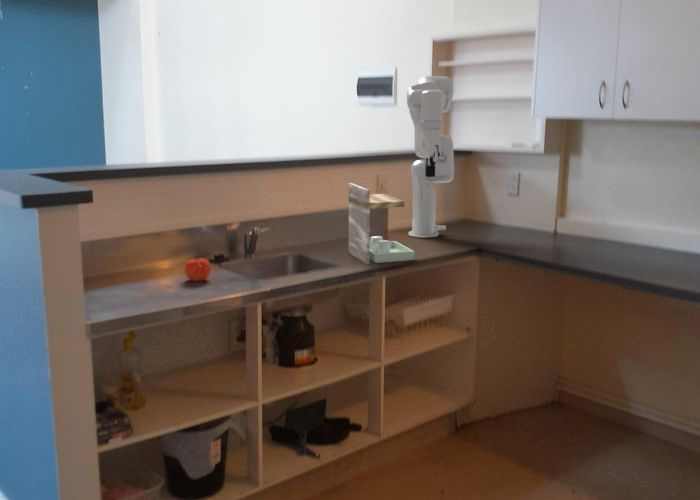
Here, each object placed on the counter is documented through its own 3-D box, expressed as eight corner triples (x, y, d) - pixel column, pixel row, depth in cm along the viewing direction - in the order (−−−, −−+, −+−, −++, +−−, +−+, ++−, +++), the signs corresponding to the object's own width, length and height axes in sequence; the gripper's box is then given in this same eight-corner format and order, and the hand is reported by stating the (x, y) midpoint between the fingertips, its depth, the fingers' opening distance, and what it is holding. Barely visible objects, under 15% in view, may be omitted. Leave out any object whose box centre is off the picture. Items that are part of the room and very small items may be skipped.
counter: (383, 250, 270) (384, 181, 265) (403, 261, 252) (404, 188, 246) (348, 252, 266) (348, 183, 260) (366, 264, 247) (366, 190, 242)
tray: (395, 249, 271) (395, 241, 270) (414, 260, 253) (414, 251, 253) (357, 251, 267) (357, 243, 266) (374, 263, 249) (374, 254, 248)
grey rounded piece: (380, 250, 266) (380, 235, 264) (384, 252, 262) (384, 237, 260) (368, 250, 264) (369, 236, 263) (372, 253, 260) (373, 238, 259)
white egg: (387, 254, 258) (387, 239, 257) (391, 257, 254) (392, 242, 253) (376, 255, 257) (376, 240, 256) (380, 258, 253) (380, 243, 252)
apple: (213, 282, 224) (212, 257, 223) (187, 284, 221) (186, 259, 220) (208, 276, 232) (206, 252, 230) (183, 278, 228) (181, 254, 227)
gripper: (413, 124, 261) (412, 174, 265) (430, 126, 247) (428, 179, 251) (432, 124, 263) (431, 174, 267) (449, 126, 249) (448, 178, 253)
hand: (430, 176), depth 259 cm, fingers closed
